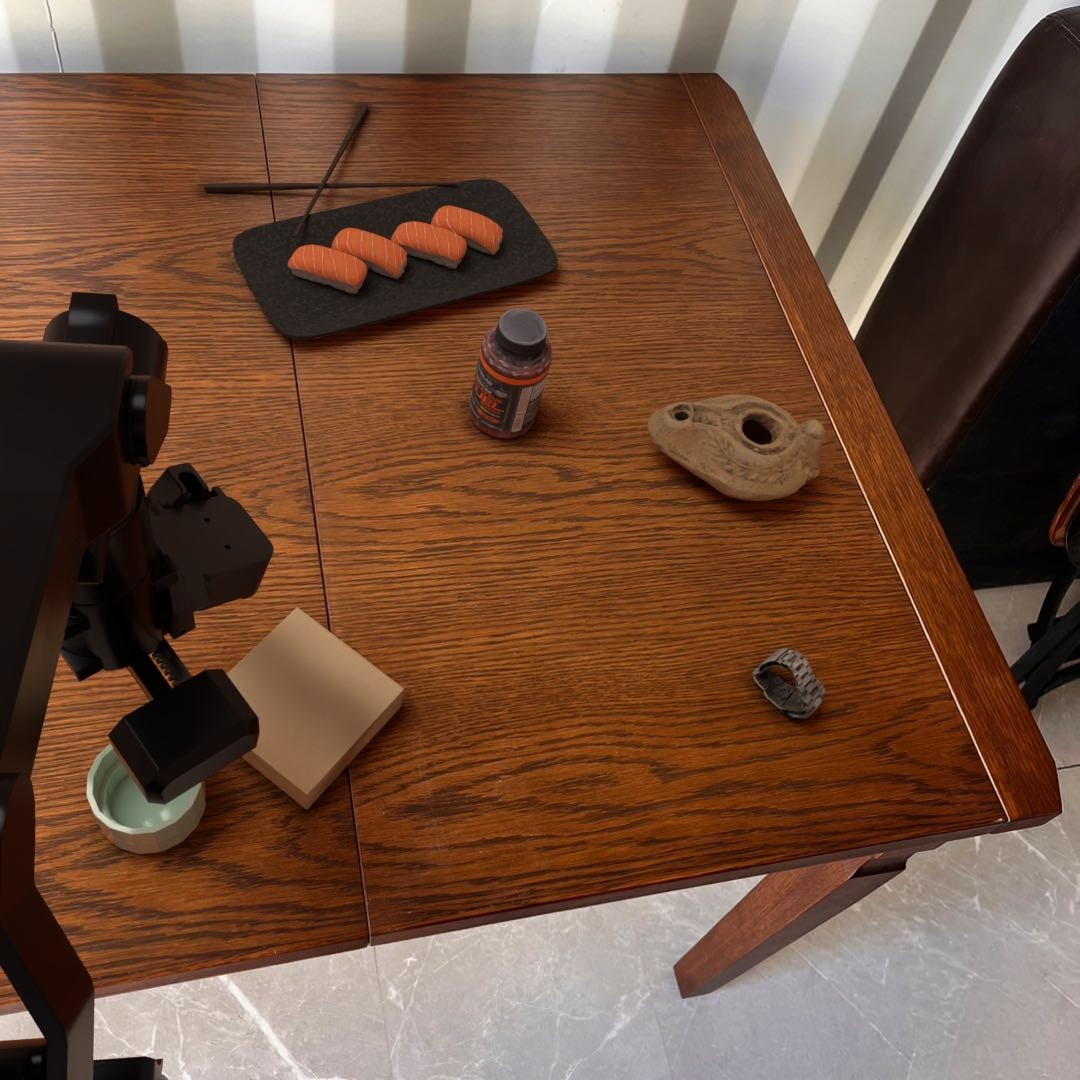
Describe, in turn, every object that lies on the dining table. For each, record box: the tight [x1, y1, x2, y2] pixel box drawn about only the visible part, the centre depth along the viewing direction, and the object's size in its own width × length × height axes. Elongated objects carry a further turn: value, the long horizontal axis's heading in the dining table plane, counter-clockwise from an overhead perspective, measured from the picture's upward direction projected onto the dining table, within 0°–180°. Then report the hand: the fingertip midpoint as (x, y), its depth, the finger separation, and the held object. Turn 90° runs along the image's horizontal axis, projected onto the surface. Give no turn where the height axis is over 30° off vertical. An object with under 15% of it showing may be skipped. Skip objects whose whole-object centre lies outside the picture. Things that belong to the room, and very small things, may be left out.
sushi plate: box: [203, 103, 559, 340], centre depth 105 cm, size 29×30×4 cm
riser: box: [226, 606, 405, 811], centre depth 76 cm, size 10×10×3 cm
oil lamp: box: [646, 394, 826, 502], centre depth 93 cm, size 11×15×8 cm
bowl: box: [85, 742, 207, 855], centre depth 70 cm, size 7×7×4 cm
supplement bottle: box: [468, 307, 553, 439], centre depth 91 cm, size 6×6×11 cm
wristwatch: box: [752, 647, 826, 720], centre depth 84 cm, size 3×5×5 cm
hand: (133, 699), depth 63 cm, fingers open, 9 cm apart
